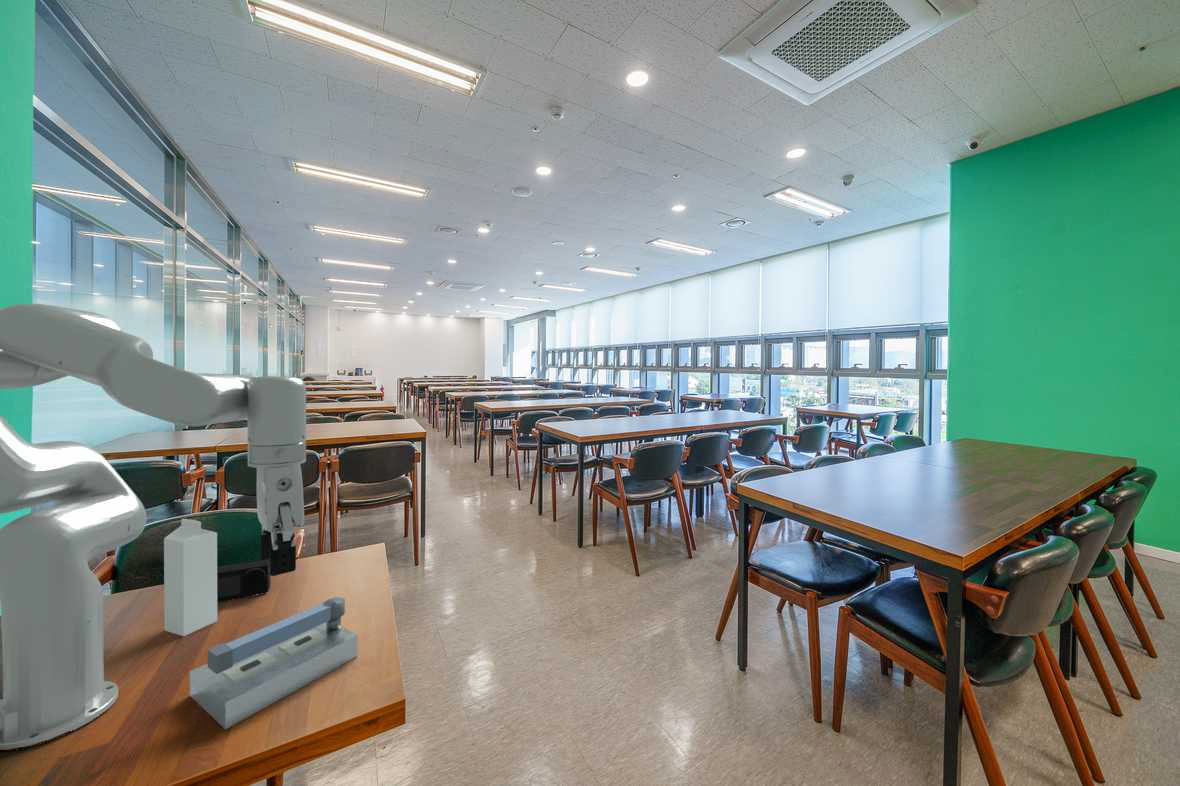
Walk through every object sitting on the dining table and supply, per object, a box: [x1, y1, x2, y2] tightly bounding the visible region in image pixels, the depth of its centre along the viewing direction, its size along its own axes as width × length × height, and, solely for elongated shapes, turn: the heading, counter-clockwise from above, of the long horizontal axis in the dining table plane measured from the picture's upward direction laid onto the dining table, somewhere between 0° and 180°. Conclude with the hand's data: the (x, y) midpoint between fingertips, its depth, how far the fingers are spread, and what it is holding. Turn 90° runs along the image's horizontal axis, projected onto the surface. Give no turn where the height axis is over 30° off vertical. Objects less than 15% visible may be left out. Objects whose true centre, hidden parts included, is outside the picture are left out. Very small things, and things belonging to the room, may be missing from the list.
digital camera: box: [217, 559, 272, 604], centre depth 102 cm, size 10×5×7 cm, turn 120°
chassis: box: [189, 616, 359, 730], centre depth 76 cm, size 20×13×6 cm, turn 150°
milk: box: [163, 518, 218, 637], centre depth 89 cm, size 6×6×22 cm
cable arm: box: [207, 596, 346, 674], centre depth 76 cm, size 20×4×3 cm, turn 150°
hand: (277, 564), depth 69 cm, fingers open, 7 cm apart
